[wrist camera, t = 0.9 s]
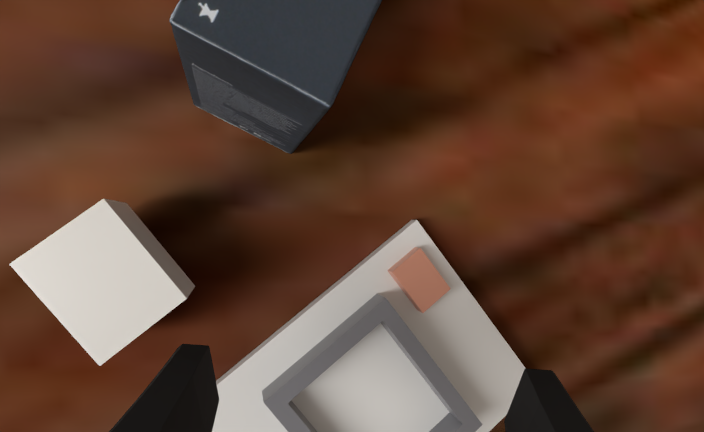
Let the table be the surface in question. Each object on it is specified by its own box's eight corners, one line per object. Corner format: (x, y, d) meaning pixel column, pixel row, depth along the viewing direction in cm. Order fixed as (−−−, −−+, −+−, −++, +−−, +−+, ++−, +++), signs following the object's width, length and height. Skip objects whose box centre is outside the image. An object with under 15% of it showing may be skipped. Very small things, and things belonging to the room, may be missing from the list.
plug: (129, 335, 23) (99, 366, 18) (59, 255, 23) (9, 264, 18) (197, 282, 24) (186, 298, 19) (132, 204, 24) (103, 198, 18)
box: (293, 156, 25) (331, 111, 15) (191, 106, 24) (159, 19, 14) (354, 29, 26) (429, -95, 16) (259, -25, 25) (275, -197, 15)
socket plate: (318, 585, 25) (326, 622, 23) (171, 417, 24) (164, 438, 21) (529, 379, 28) (555, 393, 26) (411, 219, 27) (428, 219, 25)
